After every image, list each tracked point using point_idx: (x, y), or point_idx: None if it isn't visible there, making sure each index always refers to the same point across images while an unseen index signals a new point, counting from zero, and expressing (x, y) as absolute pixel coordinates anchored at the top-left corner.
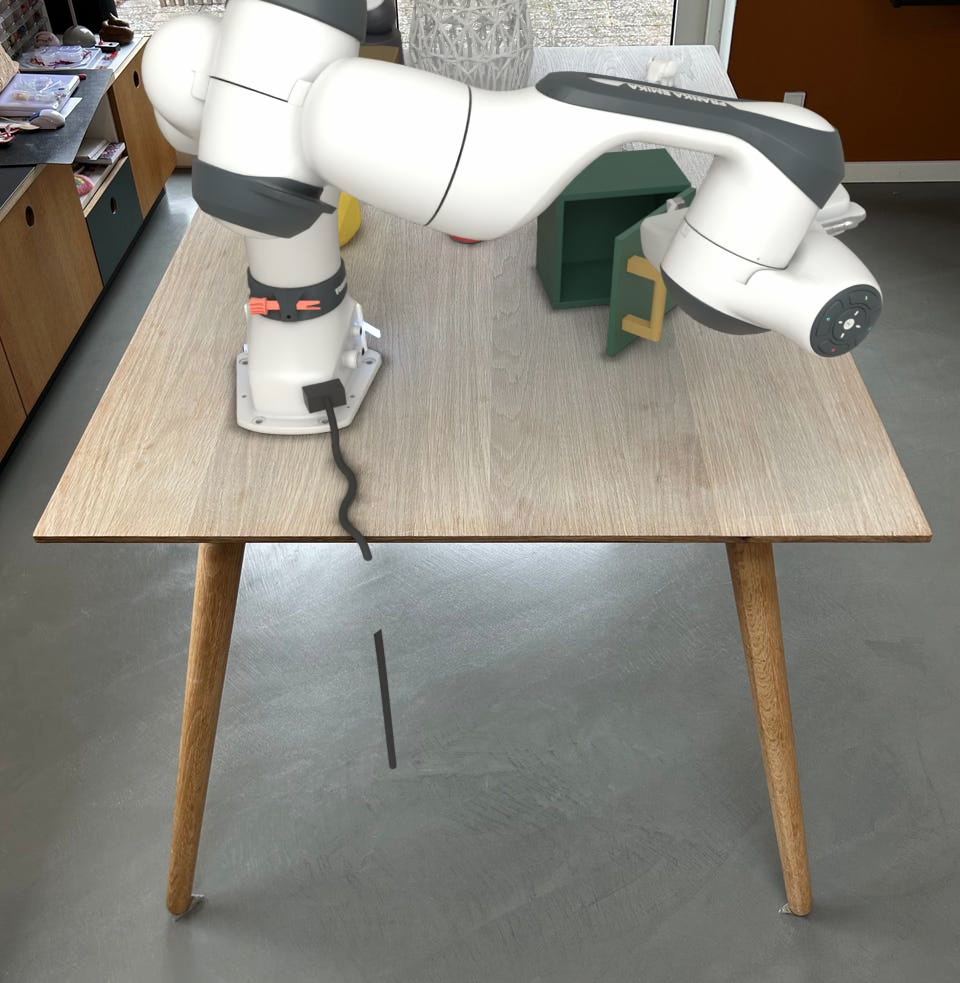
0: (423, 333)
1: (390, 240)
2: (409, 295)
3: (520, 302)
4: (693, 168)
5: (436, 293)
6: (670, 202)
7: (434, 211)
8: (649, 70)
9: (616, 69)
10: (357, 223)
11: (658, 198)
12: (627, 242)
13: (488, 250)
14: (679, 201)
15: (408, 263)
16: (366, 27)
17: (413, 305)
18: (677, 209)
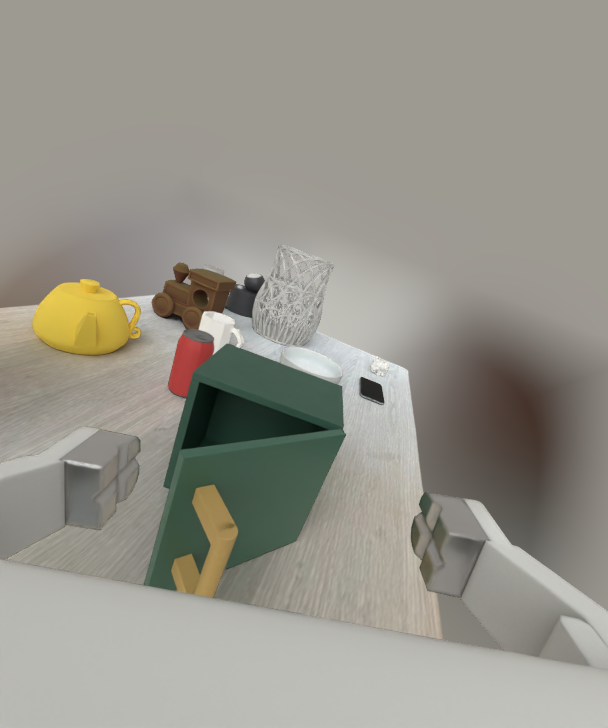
0: (3, 450)
1: (127, 367)
2: (64, 408)
3: (145, 463)
4: (373, 420)
5: (89, 418)
6: (61, 441)
7: None
8: (374, 362)
9: (359, 358)
10: (108, 344)
11: (319, 427)
12: (198, 464)
13: (183, 406)
14: (88, 455)
15: (111, 386)
16: (246, 285)
17: (50, 418)
18: (43, 487)
